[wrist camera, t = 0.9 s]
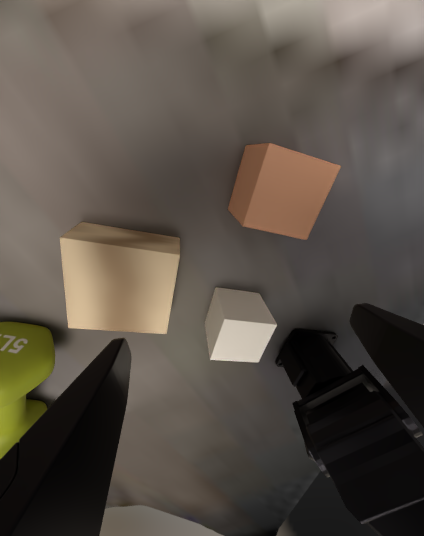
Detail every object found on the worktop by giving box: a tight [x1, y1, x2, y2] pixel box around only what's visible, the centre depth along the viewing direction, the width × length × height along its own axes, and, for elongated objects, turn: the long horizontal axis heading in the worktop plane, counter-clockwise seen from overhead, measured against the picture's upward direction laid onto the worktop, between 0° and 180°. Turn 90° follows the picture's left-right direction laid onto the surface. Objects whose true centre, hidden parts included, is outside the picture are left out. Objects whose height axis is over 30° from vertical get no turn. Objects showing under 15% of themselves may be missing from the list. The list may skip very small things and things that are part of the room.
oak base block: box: [60, 222, 180, 334], centre depth 19 cm, size 8×8×4 cm
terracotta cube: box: [228, 143, 341, 240], centre depth 16 cm, size 5×5×5 cm
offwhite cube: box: [205, 287, 277, 362], centre depth 22 cm, size 5×5×5 cm
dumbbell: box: [0, 322, 55, 459], centre depth 21 cm, size 16×8×7 cm, turn 159°
